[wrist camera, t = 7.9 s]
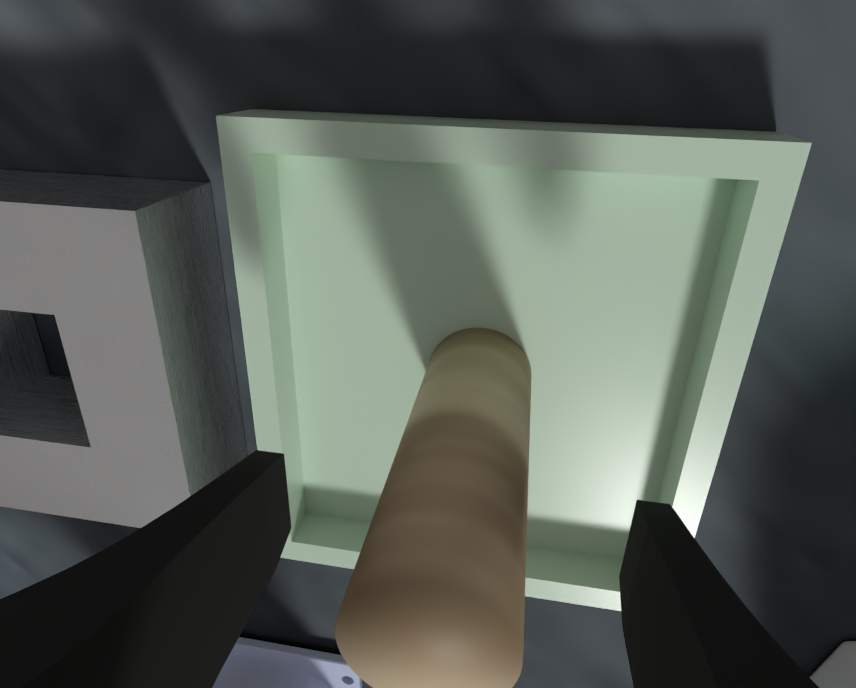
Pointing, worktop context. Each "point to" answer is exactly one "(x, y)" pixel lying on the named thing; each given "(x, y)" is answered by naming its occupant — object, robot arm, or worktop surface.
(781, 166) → the tray
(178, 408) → the socket block
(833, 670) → the jar
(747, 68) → the worktop surface
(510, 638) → the pin
